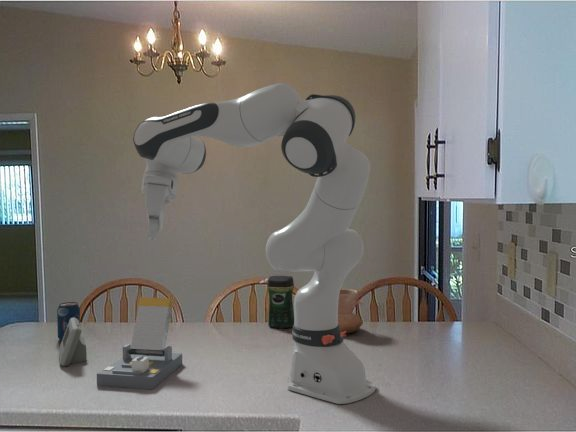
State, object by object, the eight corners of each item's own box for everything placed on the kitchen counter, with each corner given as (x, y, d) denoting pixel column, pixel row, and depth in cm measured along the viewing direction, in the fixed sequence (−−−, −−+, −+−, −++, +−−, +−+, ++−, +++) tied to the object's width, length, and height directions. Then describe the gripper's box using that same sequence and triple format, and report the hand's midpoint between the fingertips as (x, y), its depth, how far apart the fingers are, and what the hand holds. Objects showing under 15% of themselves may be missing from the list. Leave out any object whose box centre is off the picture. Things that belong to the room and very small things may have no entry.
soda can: (65, 343, 152) (65, 307, 152) (53, 340, 156) (52, 304, 155) (84, 338, 158) (84, 302, 158) (72, 335, 162) (71, 300, 161)
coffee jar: (296, 324, 173) (296, 274, 173) (291, 329, 166) (290, 277, 165) (271, 322, 176) (271, 273, 175) (265, 328, 168) (264, 277, 168)
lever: (132, 355, 129) (142, 299, 135) (165, 356, 127) (175, 300, 133) (127, 353, 126) (138, 297, 132) (161, 355, 124) (171, 298, 131)
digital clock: (60, 351, 144) (59, 317, 144) (91, 348, 147) (90, 315, 146) (48, 369, 129) (47, 331, 128) (84, 366, 131) (83, 328, 131)
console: (133, 361, 134) (133, 338, 134) (182, 363, 132) (181, 341, 131) (96, 385, 117) (96, 359, 116) (152, 389, 114) (152, 363, 114)
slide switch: (137, 368, 120) (137, 354, 120) (148, 368, 119) (148, 355, 119) (132, 372, 117) (131, 358, 117) (143, 373, 116) (142, 359, 116)
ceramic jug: (367, 327, 167) (366, 288, 167) (361, 338, 154) (360, 295, 154) (319, 325, 173) (318, 286, 173) (308, 335, 159) (307, 293, 159)
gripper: (148, 199, 131) (141, 247, 127) (144, 172, 112) (136, 228, 108) (171, 202, 132) (164, 249, 128) (171, 176, 113) (164, 231, 109)
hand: (151, 239), depth 118 cm, fingers closed
